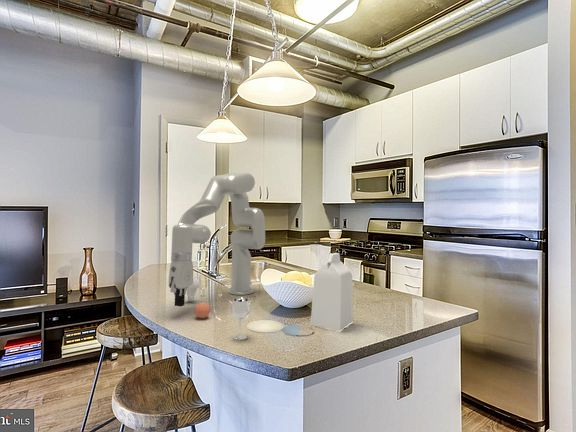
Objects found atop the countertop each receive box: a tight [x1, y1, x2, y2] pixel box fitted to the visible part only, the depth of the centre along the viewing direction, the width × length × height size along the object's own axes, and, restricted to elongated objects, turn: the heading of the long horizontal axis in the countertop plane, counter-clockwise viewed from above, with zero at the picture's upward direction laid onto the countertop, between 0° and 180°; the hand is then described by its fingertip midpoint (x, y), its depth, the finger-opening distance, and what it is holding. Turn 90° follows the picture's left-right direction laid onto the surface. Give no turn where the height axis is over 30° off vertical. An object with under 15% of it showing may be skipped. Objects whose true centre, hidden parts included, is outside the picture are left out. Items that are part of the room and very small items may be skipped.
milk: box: [310, 252, 354, 330], centre depth 125 cm, size 12×12×26 cm
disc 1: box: [246, 319, 285, 334], centre depth 121 cm, size 13×13×1 cm
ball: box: [194, 302, 211, 319], centre depth 128 cm, size 6×6×6 cm
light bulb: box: [186, 276, 200, 303], centre depth 149 cm, size 7×7×11 cm
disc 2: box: [281, 324, 302, 337], centre depth 117 cm, size 11×11×1 cm
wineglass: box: [231, 297, 251, 341], centre depth 109 cm, size 6×6×12 cm
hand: (179, 305), depth 130 cm, fingers closed
